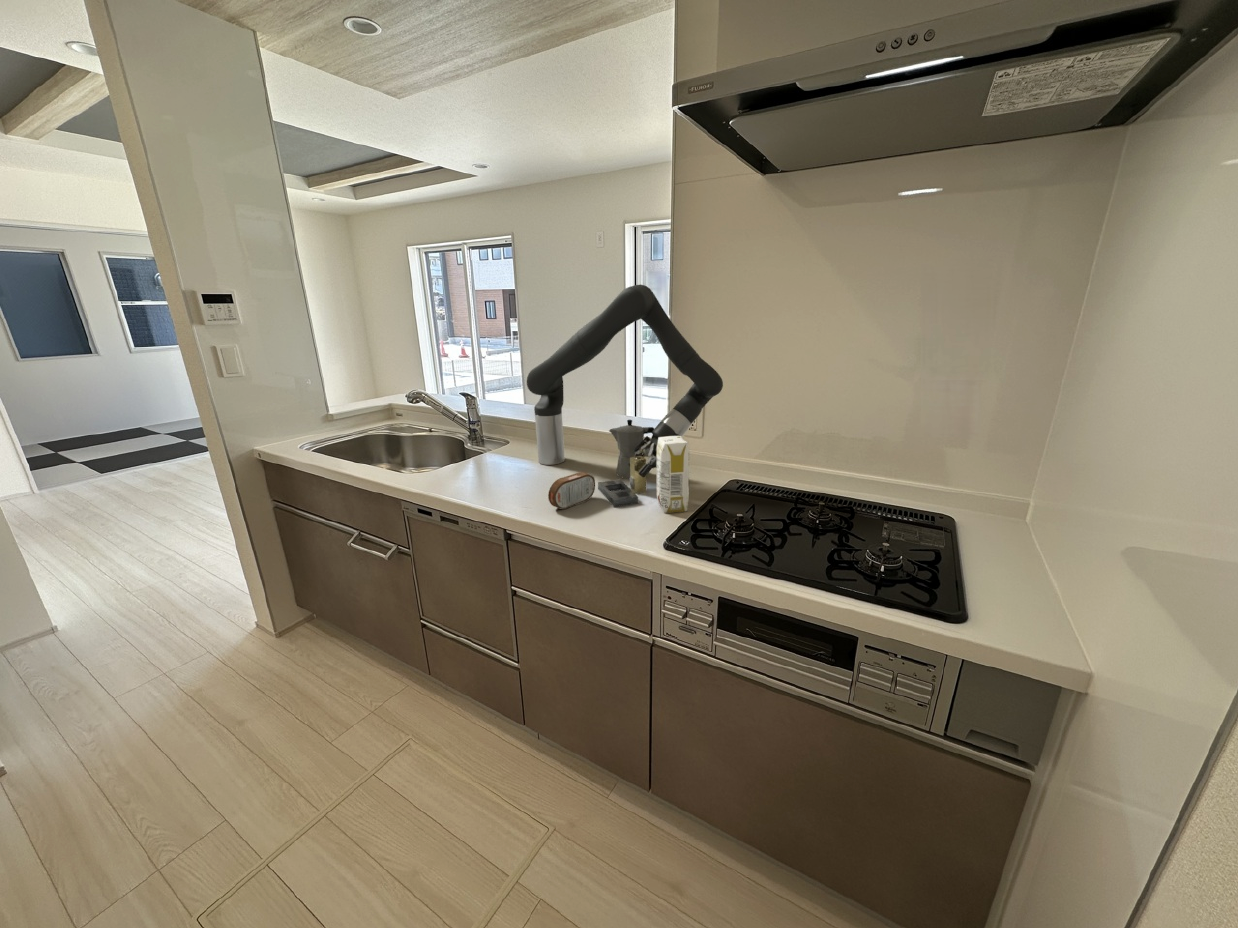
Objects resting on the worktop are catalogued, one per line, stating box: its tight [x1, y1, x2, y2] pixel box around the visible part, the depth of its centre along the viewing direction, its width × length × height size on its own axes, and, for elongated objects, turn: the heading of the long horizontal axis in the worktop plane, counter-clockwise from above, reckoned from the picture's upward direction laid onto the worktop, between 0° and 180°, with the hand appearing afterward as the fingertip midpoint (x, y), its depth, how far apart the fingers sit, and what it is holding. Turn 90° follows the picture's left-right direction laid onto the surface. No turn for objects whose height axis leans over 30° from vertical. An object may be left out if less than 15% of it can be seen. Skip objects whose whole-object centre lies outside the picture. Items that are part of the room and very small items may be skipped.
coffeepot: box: [608, 419, 655, 479], centre depth 154 cm, size 15×9×18 cm, turn 84°
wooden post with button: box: [629, 456, 647, 494], centre depth 141 cm, size 4×4×10 cm
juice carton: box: [656, 436, 691, 514], centre depth 128 cm, size 8×9×19 cm
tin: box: [547, 471, 596, 510], centre depth 133 cm, size 15×3×8 cm, turn 135°
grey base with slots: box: [597, 479, 639, 508], centre depth 139 cm, size 15×7×2 cm, turn 19°
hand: (635, 471), depth 140 cm, fingers open, 8 cm apart
